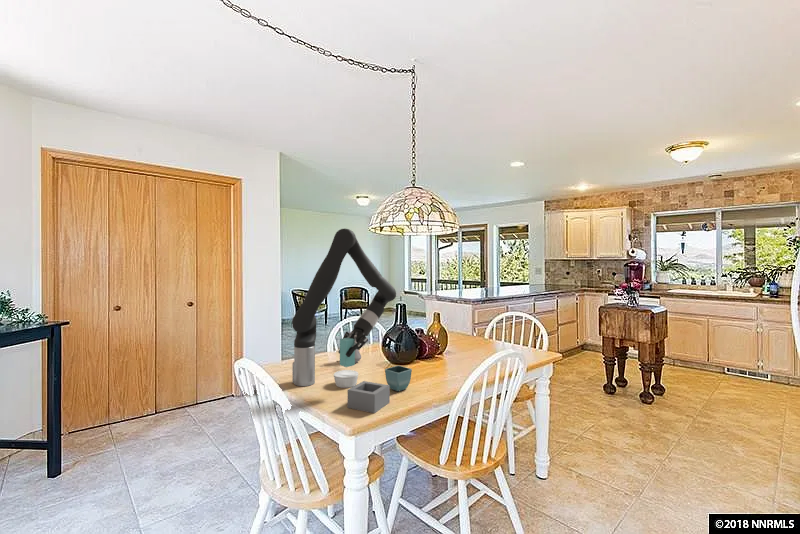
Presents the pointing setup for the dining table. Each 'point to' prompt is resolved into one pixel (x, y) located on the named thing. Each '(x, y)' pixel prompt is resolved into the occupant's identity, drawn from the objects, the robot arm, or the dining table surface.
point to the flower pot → (398, 377)
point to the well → (368, 396)
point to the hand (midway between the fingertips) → (343, 354)
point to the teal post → (344, 347)
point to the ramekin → (346, 378)
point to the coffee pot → (357, 355)
